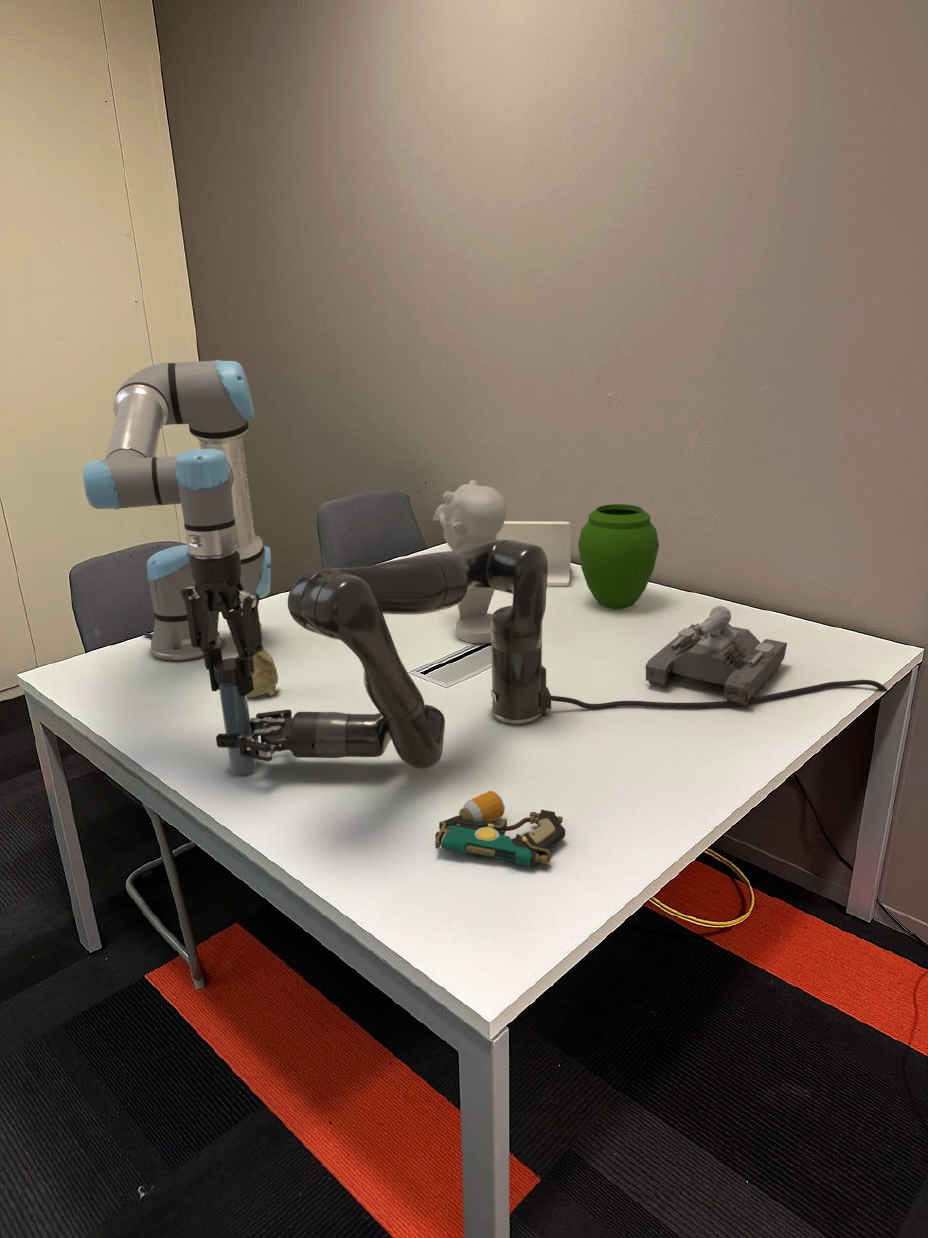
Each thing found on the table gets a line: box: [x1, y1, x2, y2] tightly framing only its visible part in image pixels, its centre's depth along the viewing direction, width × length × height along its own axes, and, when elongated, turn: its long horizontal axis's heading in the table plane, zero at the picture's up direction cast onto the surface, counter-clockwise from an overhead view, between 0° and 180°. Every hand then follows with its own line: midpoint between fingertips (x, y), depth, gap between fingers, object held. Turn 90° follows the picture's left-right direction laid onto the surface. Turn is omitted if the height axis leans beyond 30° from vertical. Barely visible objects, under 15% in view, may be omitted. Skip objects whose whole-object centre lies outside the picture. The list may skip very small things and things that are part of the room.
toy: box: [645, 605, 788, 706], centre depth 170 cm, size 25×20×15 cm
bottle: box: [218, 682, 257, 776], centre depth 141 cm, size 4×4×18 cm
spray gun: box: [434, 790, 566, 867], centre depth 122 cm, size 4×17×15 cm
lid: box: [213, 657, 238, 684], centre depth 138 cm, size 5×5×2 cm
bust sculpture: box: [432, 479, 507, 644], centre depth 196 cm, size 16×24×35 cm, turn 28°
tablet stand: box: [496, 520, 572, 587], centre depth 236 cm, size 18×25×17 cm
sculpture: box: [247, 622, 279, 698], centre depth 169 cm, size 6×7×15 cm
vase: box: [577, 503, 660, 610], centre depth 210 cm, size 20×20×24 cm
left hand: (232, 690), depth 139 cm, fingers closed on lid, 5 cm apart
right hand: (222, 733), depth 142 cm, fingers closed on bottle, 4 cm apart
